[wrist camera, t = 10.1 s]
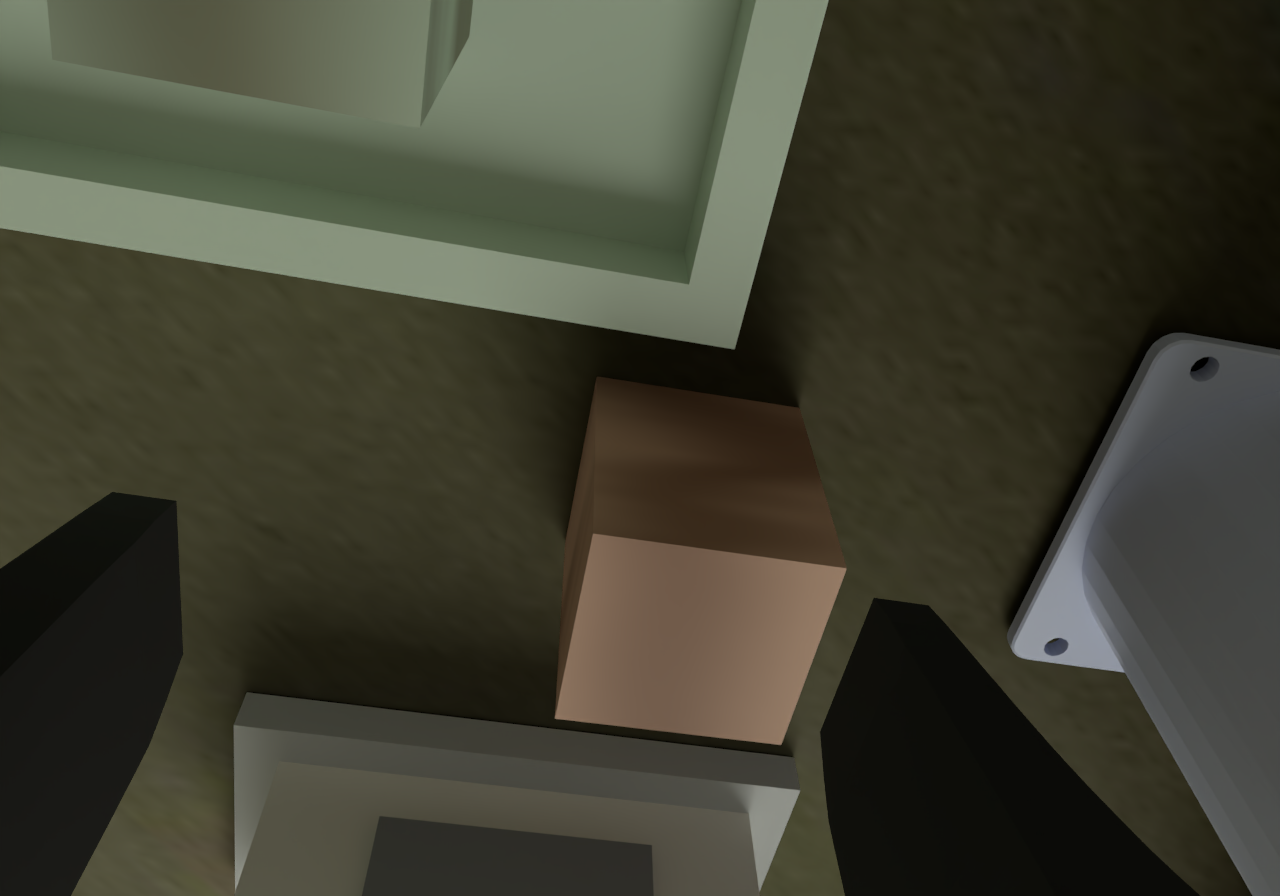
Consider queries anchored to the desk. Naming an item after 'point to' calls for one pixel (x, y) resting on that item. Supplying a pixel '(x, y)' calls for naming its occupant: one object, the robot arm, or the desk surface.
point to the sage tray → (449, 163)
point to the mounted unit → (492, 808)
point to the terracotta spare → (693, 565)
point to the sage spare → (276, 48)
